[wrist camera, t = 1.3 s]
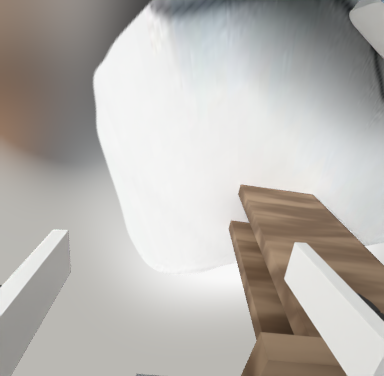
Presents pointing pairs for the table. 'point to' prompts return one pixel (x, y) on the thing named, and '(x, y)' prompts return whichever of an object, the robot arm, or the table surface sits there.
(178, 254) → the table surface
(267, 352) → the shelf
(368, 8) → the cable organizer
